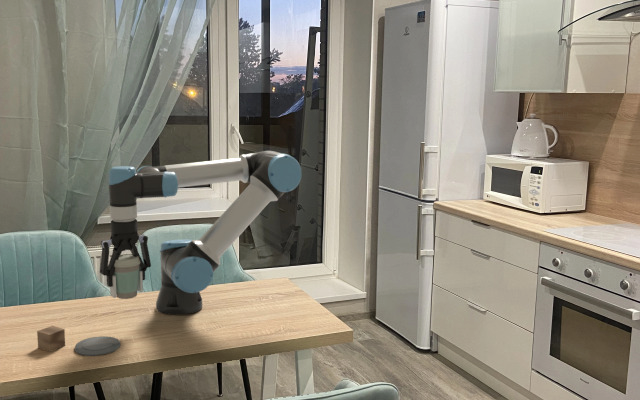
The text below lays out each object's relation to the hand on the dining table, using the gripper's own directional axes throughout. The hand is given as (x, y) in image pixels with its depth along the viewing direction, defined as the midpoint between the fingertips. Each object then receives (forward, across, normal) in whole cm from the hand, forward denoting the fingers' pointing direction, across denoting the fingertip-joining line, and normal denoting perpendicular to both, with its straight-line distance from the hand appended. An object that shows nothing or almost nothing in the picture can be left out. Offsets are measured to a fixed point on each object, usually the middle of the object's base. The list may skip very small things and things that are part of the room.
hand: (126, 293), depth 190 cm
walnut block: (+11, +22, 0) cm, 25 cm away
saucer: (+11, +12, +8) cm, 18 cm away
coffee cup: (+1, 0, 0) cm, 1 cm away
